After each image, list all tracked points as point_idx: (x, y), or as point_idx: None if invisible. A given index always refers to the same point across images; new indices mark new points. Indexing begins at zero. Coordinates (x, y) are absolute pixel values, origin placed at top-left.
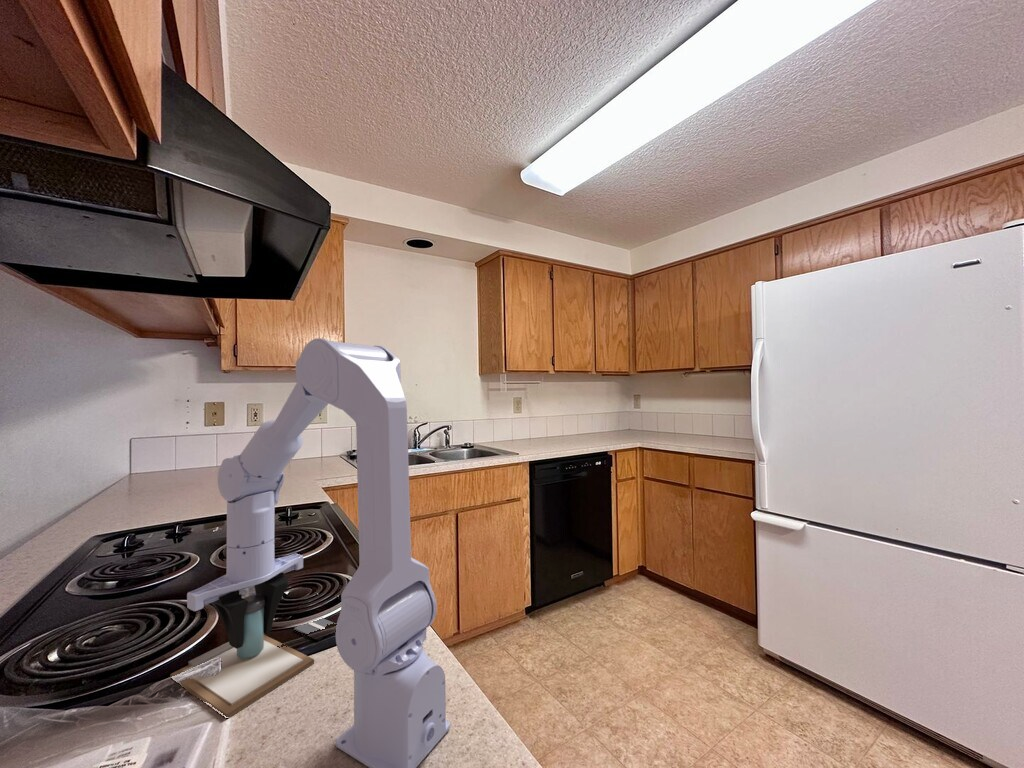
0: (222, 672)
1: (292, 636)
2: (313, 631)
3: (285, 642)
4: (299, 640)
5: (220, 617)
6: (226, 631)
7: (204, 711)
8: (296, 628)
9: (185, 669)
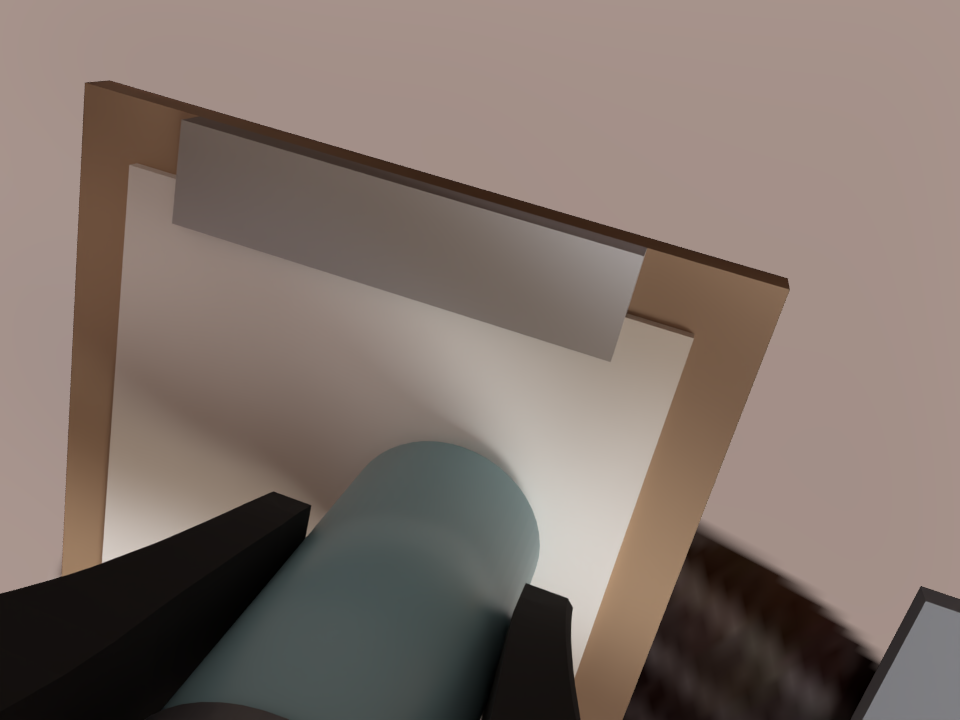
0: (226, 484)
1: (824, 620)
2: None
3: (726, 614)
4: (775, 706)
5: (18, 589)
6: (184, 531)
7: (56, 574)
8: (918, 627)
9: (146, 167)
